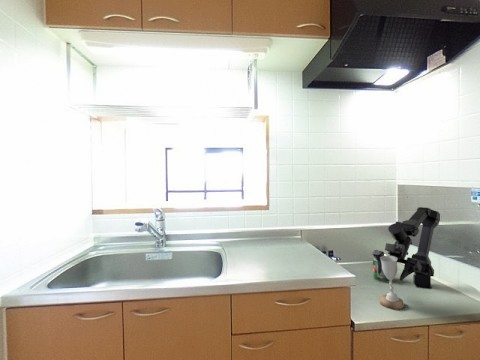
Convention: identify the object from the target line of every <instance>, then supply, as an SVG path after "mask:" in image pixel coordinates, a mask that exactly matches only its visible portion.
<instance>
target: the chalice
mask: <svg viewBox="0 0 480 360" xmlns="http://www.w3.org/2000/svg"><path fill="white" fill-rule="evenodd" d="M397 259H398V258H397V257H394V256H390V255H388V256H381V257H380V260H381V263H382V270H383V272H384V274H385V276H386V278H387V279H389V282H388V284H389V287H388V288H389V290H390V291H389V292H387V294H386V295H387V296H386V299H387V300H389V301H393V302H395V301H398V300H399V298H400V297H399V296H398V295H397V293H395V292H394V290H393V289H394V287H393V284H394V283H393V280H394V279H395V278H396V275H397V274H398V273H397V272H398V264H397V263H398V262H397ZM398 297H399V298H398Z"/></svg>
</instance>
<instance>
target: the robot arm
mask: <svg viewBox="0 0 480 360" xmlns="http://www.w3.org/2000/svg"><path fill="white" fill-rule="evenodd" d="M440 214H441V213H440V212H439V211H436V210H433V209H431V208H430V207H426V206H425V207H423V206H420V207H417V209H416V210H415V212H414V213H413V214H412V215H411V217H409V219H406V220H403V221H395V223H392V224H391V225H389V226H388V229H387V231H388V232H389V234H390V235H391V237H392V238H393V239H394V240H395V241H394V243H388V242H386V243H385V246H384V251H387V252H386V253H387V254H385V253H384V251H383V250H379V249H374V250H373V252H372V256H373V258H374V257H375V259H376V260H377V261H378V274H380V273H381V271H382V263H381V260H380V257H381V256H394V257H397V258H398V259H397V263H398V264H403V266H404V267H403V268H402V271H401V274H400V276H399V281H403V280H404V279H406V278H407V277H408V276H410V275H411V274H412V279H413V280H412V282H413V284H414V285H415V287H416V288H422V289H429V290H431V289H433V287H432V284H431V283H432V279H431V278H432V277H434V276H435V269H434V267H433V266H432V261H431V259H430V257H429V255H430V254H429V253H430V250H431V244H432V239H433V234H434V229H435V228H436V227H437V226H439V225H440V221H441V220H440ZM421 225H422V228H421V233H420V237H419V240H418V241H419V242H418V247H417V252H415V253H412V255H411V257H410V256H409V257H406V256H408V255H409V248H410V246H411V245H413V241H412V238H411V237H414V238H415V237H416V236H417V235H419V232H420V230H419V227H420V226H421ZM413 273H414V274H413Z"/></svg>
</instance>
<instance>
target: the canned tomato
mask: <svg viewBox="0 0 480 360" xmlns="http://www.w3.org/2000/svg"><path fill="white" fill-rule="evenodd" d="M372 279H373V280H374V281H376V282H378V283H383V284H384V283H385V284H386V283H389V282H390V281H389V279H387V278H386V276H385V274H384V272H383V270H382V271H381V273H380V274H378V261H377V260H376V259H375V257H374V256H373V258H372Z"/></svg>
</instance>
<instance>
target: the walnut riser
mask: <svg viewBox="0 0 480 360" xmlns="http://www.w3.org/2000/svg"><path fill="white" fill-rule="evenodd" d="M386 296H387V294H381V295H380V296H379V305H380V306H382V307H384V308H386V309H390V310H396V311H398V310H402V309H404V300H403V299H402V298H400V297H399V296H398V298H399V300H398V301H395V302H393V301H389V300H387V299H386Z"/></svg>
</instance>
